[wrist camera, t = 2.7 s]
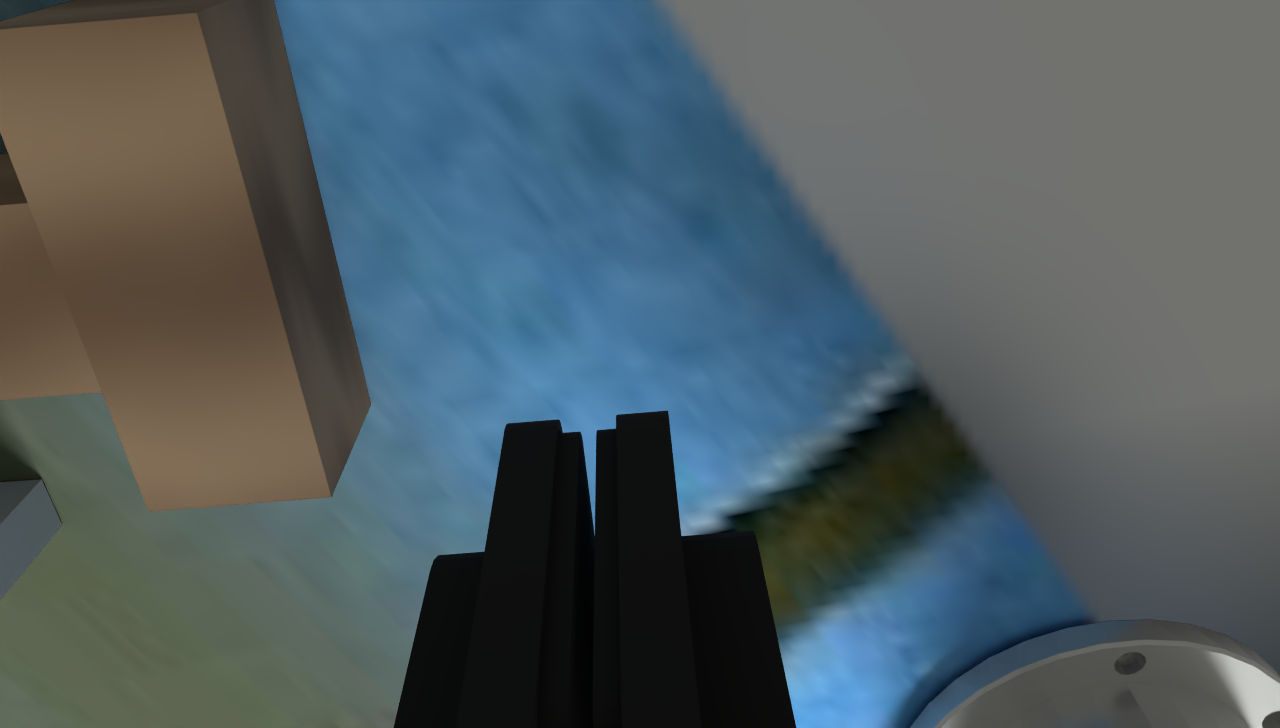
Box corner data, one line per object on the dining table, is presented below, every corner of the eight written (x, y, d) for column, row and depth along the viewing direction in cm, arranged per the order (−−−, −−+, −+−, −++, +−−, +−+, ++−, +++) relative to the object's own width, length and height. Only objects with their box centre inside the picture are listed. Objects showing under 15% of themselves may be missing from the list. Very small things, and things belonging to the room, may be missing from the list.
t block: (371, 403, 24) (331, 497, 21) (-20, 434, 25) (-125, 532, 21) (270, -18, 20) (197, 12, 16) (-213, 23, 20) (-391, 61, 16)
